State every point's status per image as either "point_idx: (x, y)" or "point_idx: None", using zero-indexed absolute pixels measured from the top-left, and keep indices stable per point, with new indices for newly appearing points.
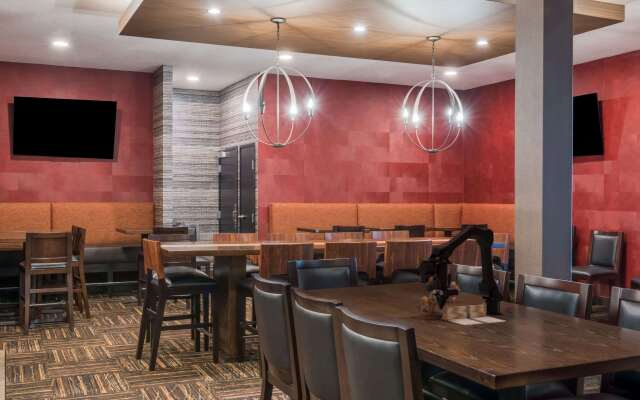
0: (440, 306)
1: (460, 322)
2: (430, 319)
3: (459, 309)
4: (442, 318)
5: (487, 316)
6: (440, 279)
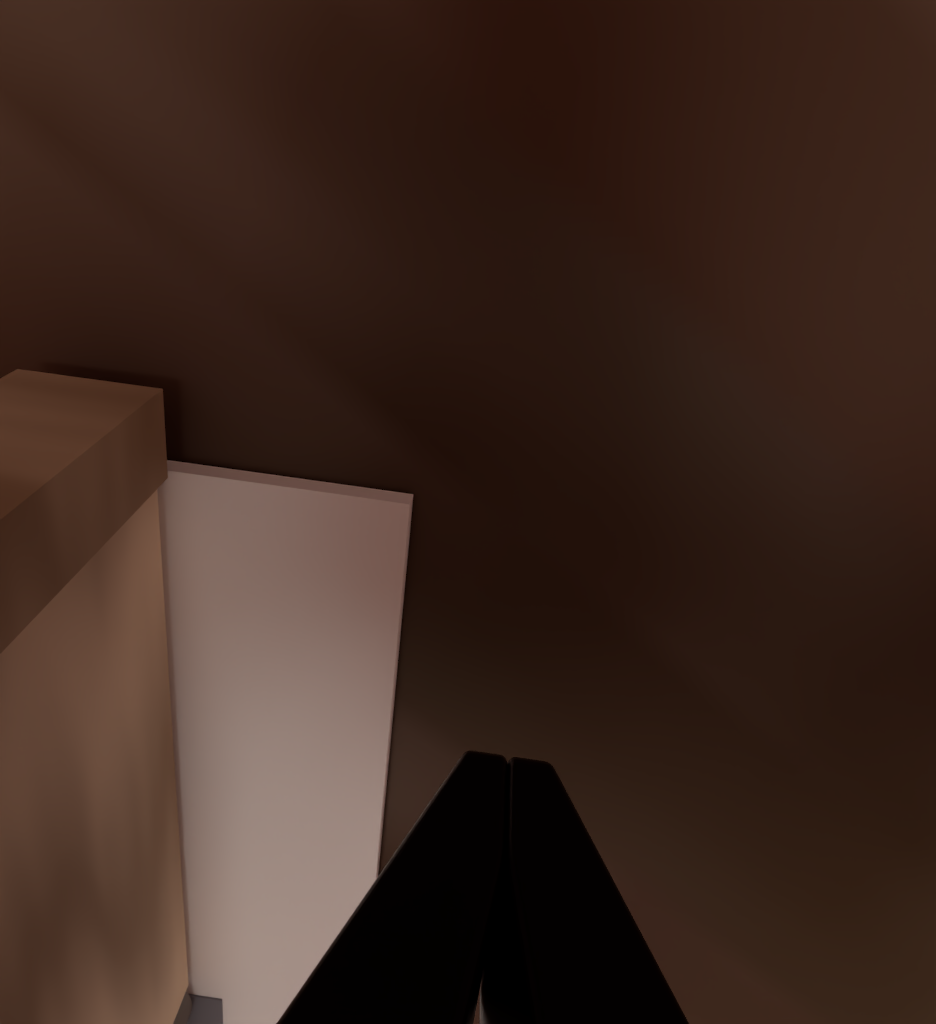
0: (413, 837)
1: None
2: (504, 60)
3: None
4: (323, 496)
5: None
6: None
